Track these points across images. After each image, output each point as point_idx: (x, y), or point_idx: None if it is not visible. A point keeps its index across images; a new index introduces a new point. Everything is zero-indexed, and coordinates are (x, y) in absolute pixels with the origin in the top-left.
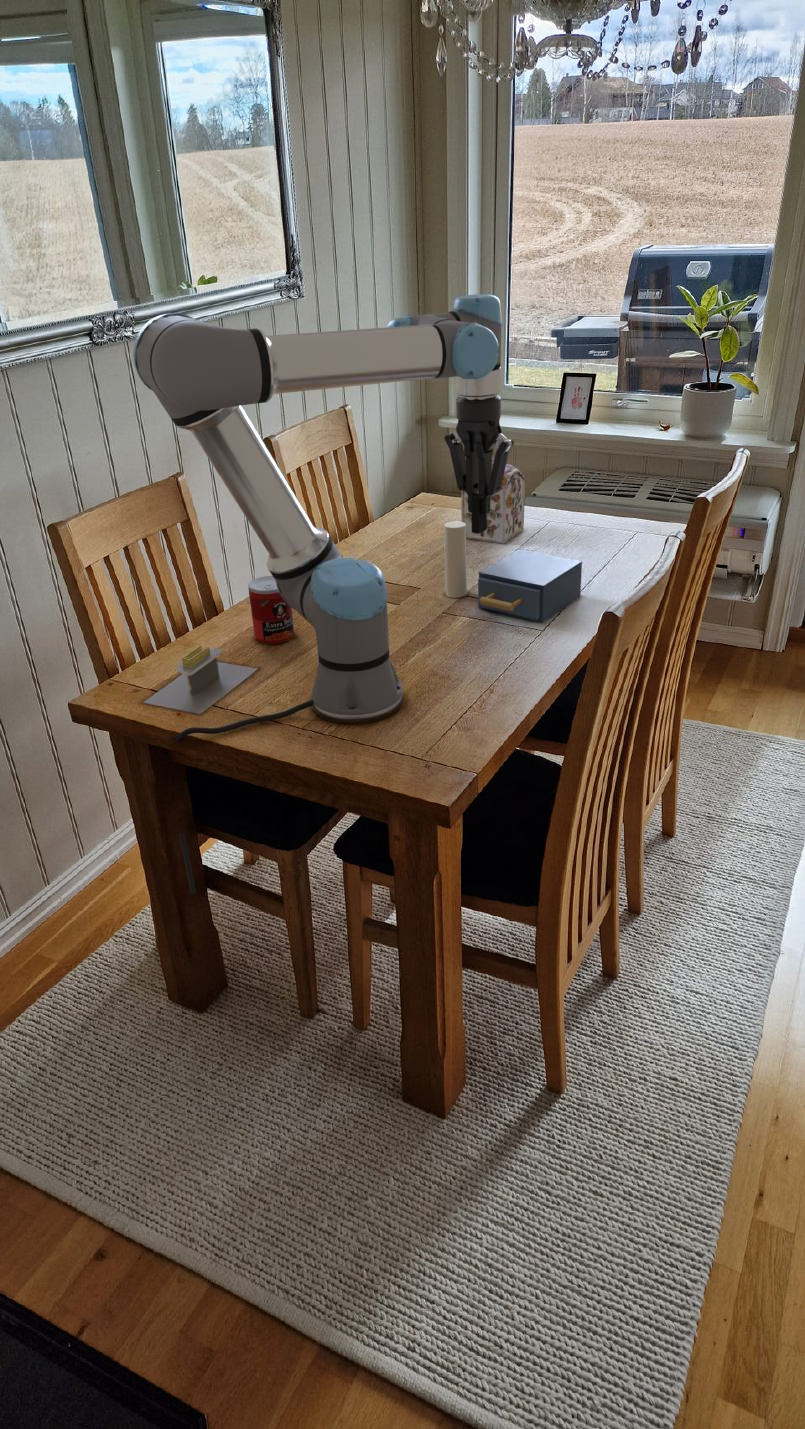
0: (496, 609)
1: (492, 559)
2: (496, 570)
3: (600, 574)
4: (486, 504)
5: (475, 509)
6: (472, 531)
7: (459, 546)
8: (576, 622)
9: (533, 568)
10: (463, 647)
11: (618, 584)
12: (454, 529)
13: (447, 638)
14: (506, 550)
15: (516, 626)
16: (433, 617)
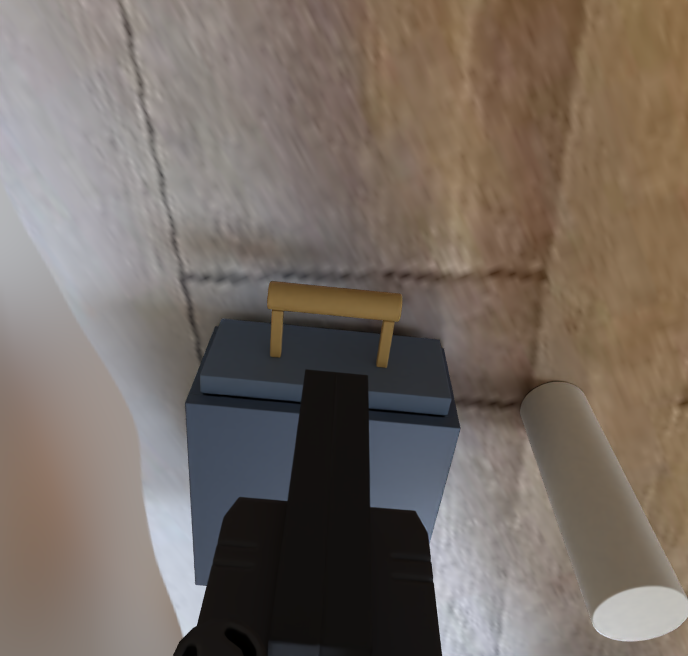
0: (370, 335)
1: (534, 602)
2: (406, 459)
3: None
4: (208, 591)
5: (323, 522)
6: (361, 380)
7: (582, 525)
8: (133, 362)
9: None
10: (352, 36)
11: (178, 573)
12: (627, 582)
13: (444, 86)
14: (519, 646)
15: (271, 274)
16: (563, 230)
